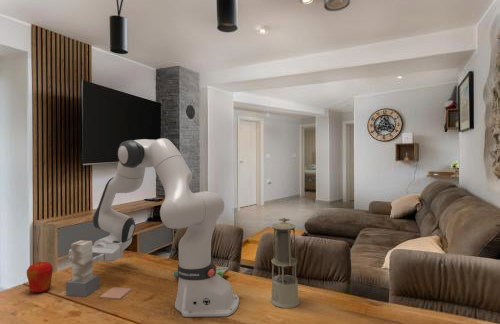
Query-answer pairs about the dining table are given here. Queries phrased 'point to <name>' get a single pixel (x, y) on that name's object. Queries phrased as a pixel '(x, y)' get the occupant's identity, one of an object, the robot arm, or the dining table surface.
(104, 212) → the robot arm
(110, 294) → the terracotta tile
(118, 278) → the dining table surface
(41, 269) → the apple
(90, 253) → the cream block
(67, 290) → the charcoal plinth
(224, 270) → the puzzle game
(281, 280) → the lamp
